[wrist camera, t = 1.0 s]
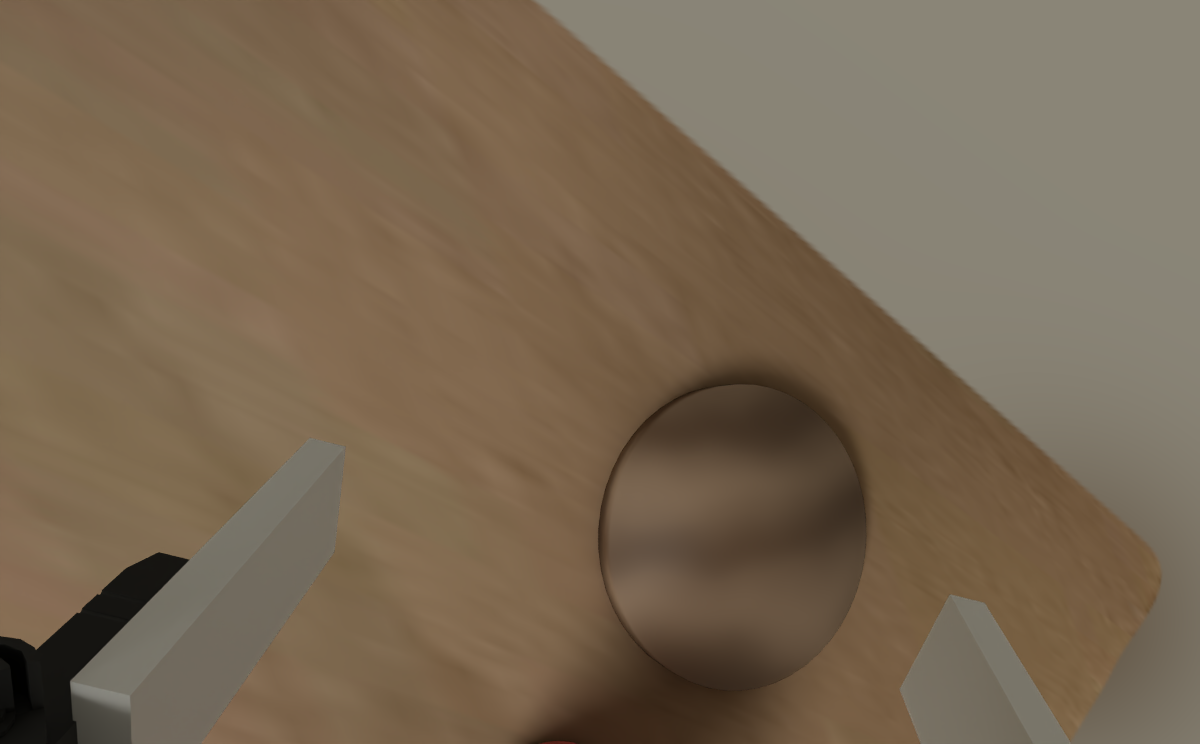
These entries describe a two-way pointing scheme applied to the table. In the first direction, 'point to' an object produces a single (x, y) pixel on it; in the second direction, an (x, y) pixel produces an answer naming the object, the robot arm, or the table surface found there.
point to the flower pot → (558, 742)
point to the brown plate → (732, 536)
